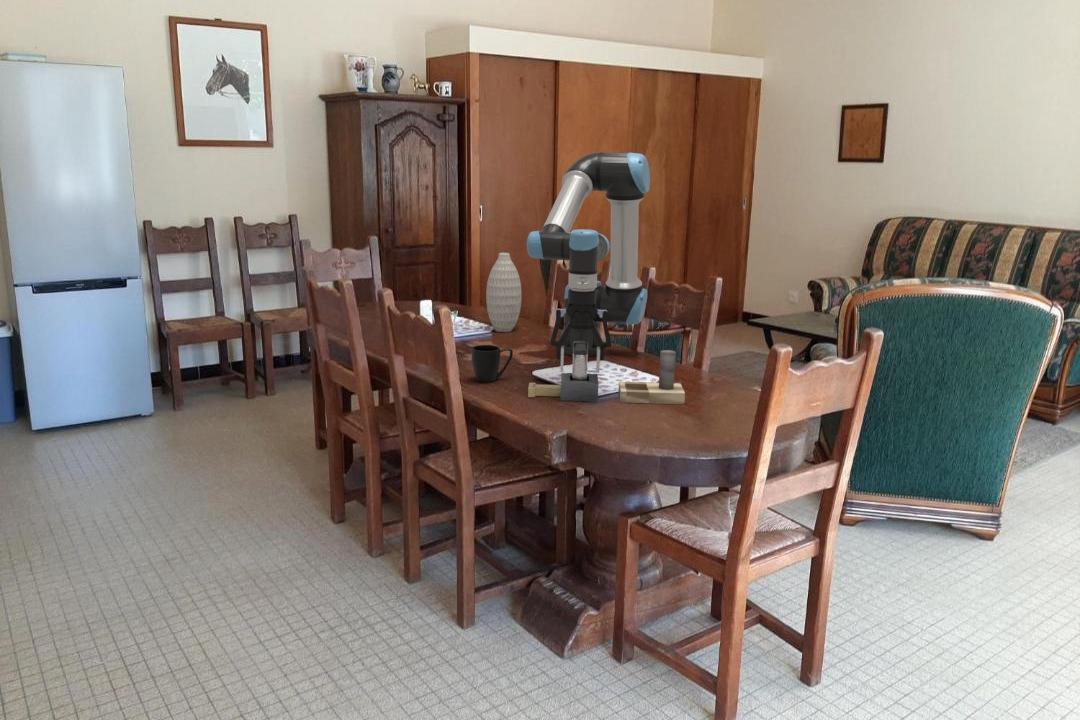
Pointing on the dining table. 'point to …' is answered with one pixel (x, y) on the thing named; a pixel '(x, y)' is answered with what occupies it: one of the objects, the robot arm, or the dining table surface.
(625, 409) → the dining table surface
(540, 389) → the t-shaped block
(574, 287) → the robot arm
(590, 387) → the socket
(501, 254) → the vase
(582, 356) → the round peg
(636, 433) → the dining table surface
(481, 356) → the mug
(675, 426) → the dining table surface
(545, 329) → the dining table surface
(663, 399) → the rack
